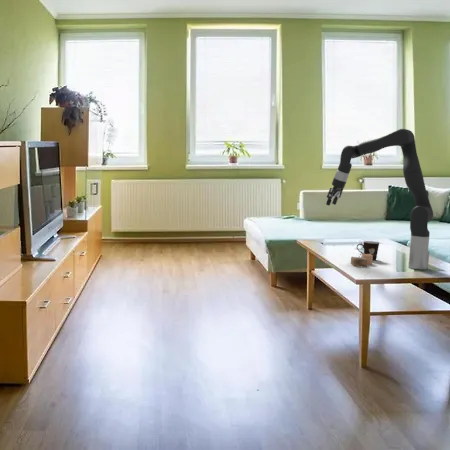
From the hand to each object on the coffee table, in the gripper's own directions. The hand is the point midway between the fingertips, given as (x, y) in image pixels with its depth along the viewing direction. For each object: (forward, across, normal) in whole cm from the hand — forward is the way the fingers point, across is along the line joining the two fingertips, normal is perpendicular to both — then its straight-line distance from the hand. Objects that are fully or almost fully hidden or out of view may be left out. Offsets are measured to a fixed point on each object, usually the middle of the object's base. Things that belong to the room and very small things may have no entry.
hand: (330, 204), depth 326 cm
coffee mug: (+20, 0, -32) cm, 38 cm away
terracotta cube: (+18, -14, -37) cm, 44 cm away
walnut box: (+19, -23, -36) cm, 46 cm away
